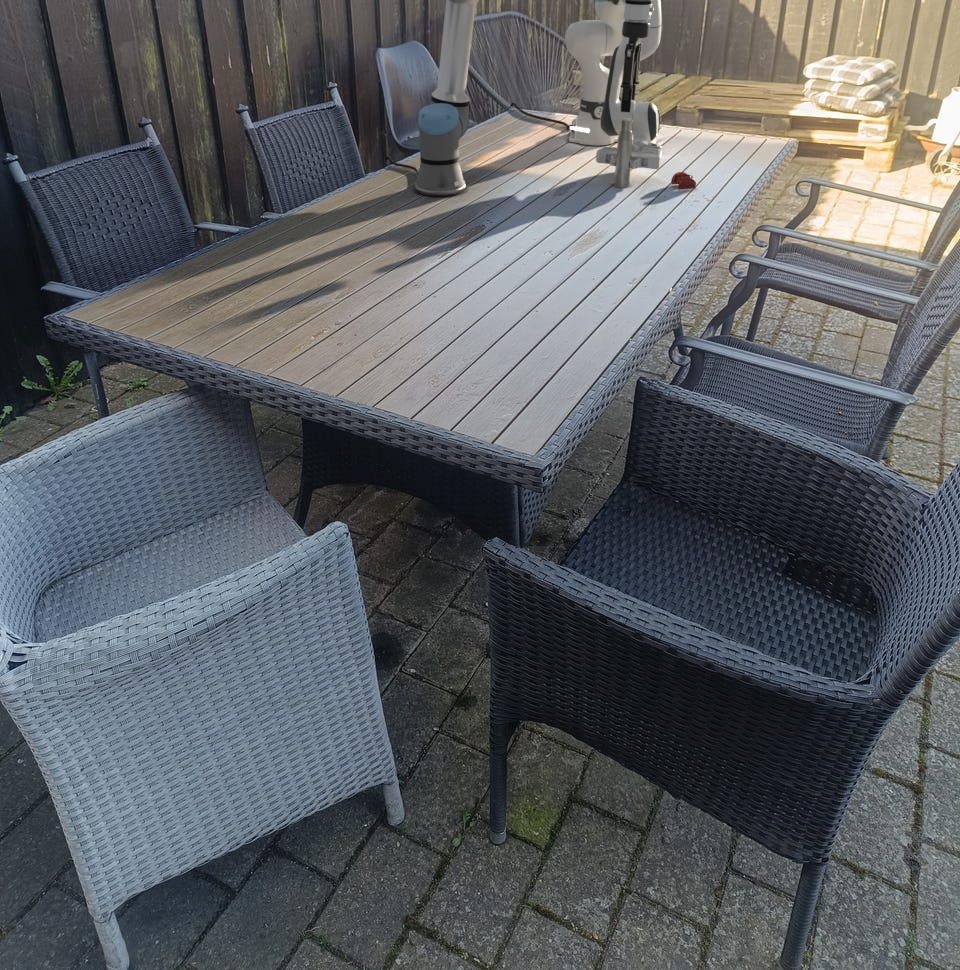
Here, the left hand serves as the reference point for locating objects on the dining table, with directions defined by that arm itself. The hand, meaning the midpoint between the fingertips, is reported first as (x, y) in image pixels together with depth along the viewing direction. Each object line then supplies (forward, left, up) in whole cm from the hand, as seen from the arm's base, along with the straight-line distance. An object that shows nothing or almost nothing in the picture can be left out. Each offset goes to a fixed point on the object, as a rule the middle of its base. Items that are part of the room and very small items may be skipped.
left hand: (627, 109), depth 249 cm
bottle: (0, 0, -22) cm, 22 cm away
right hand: (+1, -1, -15) cm, 15 cm away
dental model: (+16, +11, -22) cm, 29 cm away
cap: (0, 0, +2) cm, 2 cm away
